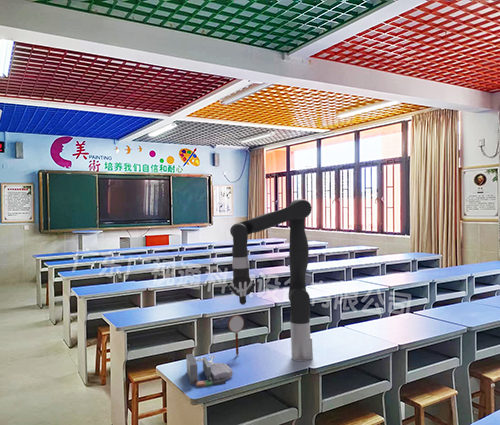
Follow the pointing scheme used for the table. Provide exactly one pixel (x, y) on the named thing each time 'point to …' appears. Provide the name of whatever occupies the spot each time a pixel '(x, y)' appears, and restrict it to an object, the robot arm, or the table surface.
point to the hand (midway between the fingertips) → (242, 304)
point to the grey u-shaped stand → (194, 375)
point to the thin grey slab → (207, 368)
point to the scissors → (208, 361)
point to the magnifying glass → (236, 327)
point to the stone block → (220, 371)
